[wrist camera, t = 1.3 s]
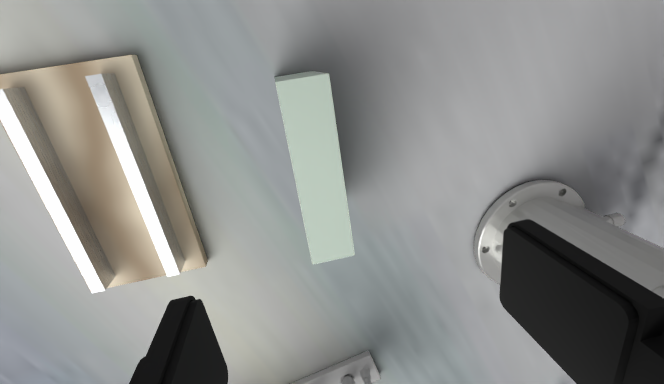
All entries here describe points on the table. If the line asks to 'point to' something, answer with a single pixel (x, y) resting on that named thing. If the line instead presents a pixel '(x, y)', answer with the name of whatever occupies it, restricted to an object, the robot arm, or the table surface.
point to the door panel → (316, 163)
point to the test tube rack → (346, 372)
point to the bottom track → (102, 169)
